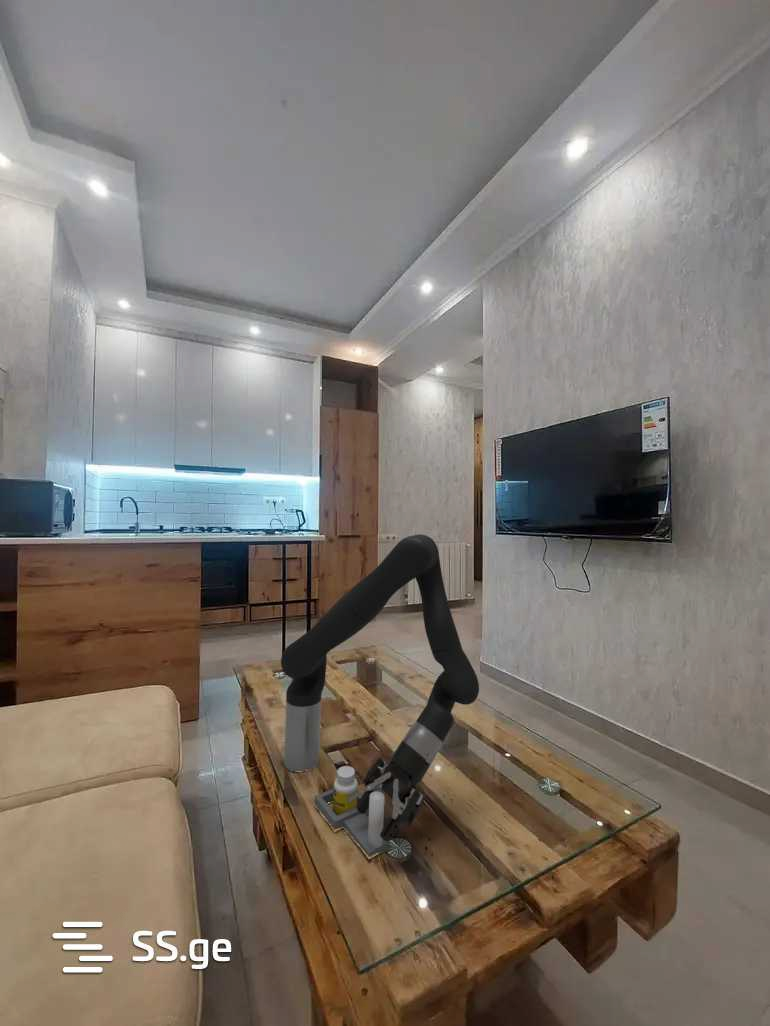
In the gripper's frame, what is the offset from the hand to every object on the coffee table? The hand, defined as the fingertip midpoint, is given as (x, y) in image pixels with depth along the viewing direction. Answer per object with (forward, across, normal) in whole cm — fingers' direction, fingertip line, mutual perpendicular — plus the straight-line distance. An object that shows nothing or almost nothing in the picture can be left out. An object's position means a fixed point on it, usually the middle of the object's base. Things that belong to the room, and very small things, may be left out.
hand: (370, 824), depth 86 cm
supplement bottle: (+3, -12, +5) cm, 14 cm away
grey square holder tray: (+3, -8, +5) cm, 10 cm away
